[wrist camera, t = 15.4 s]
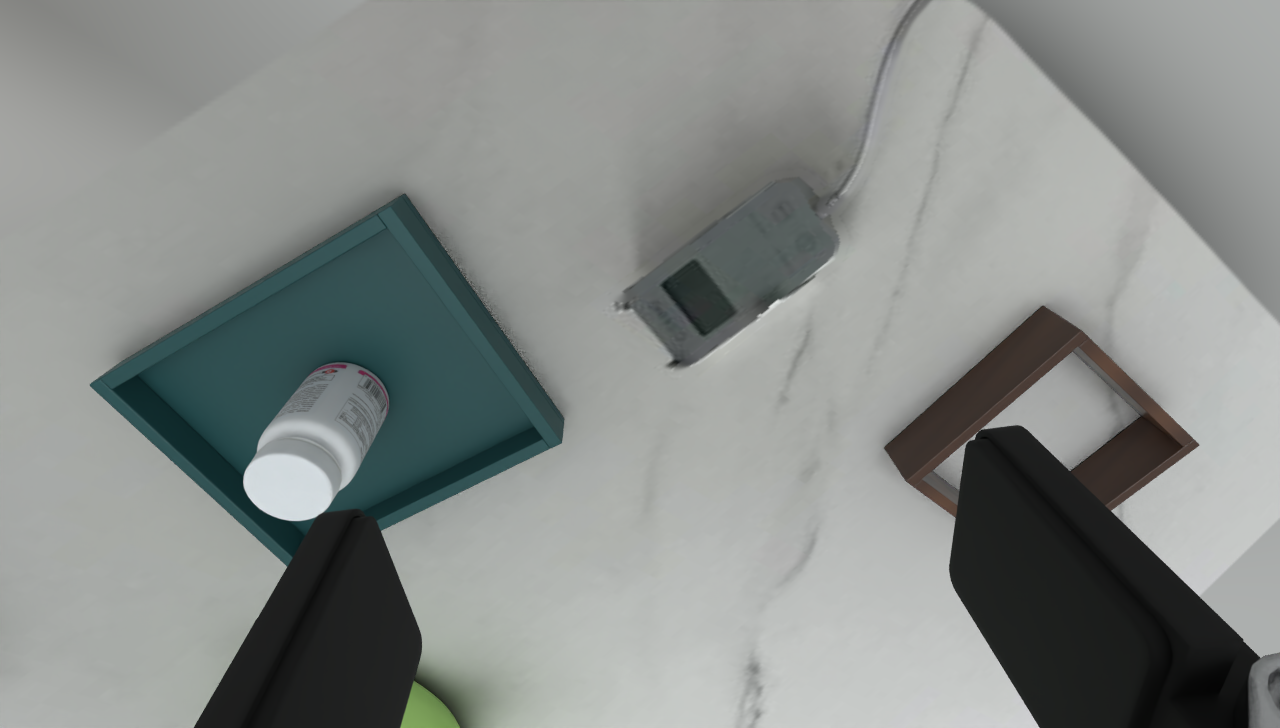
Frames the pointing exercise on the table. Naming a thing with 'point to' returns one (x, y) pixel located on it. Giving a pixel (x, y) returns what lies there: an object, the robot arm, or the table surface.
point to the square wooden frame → (1008, 377)
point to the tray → (352, 333)
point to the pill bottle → (316, 442)
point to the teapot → (426, 711)
